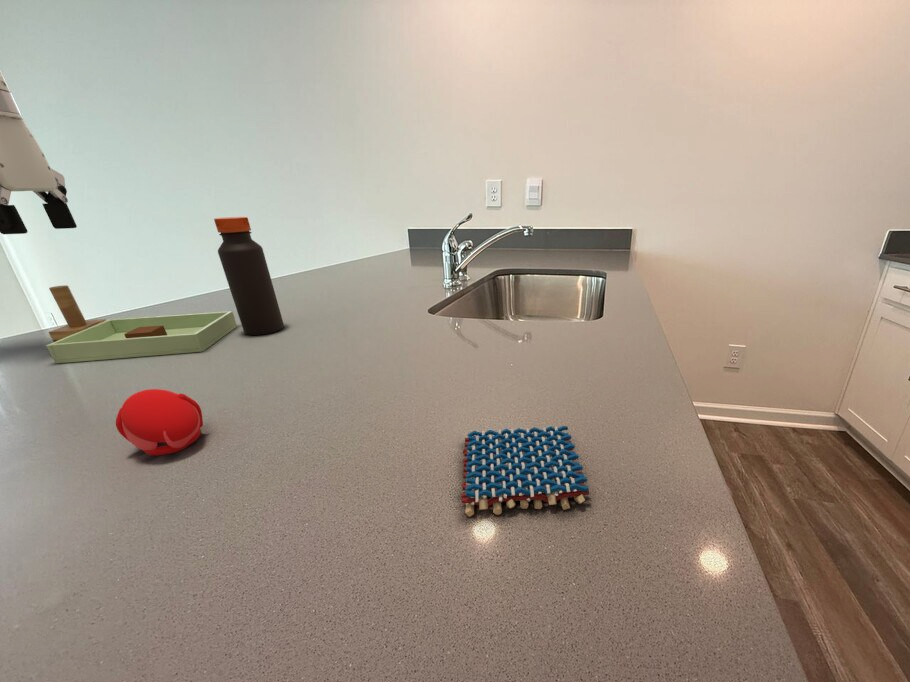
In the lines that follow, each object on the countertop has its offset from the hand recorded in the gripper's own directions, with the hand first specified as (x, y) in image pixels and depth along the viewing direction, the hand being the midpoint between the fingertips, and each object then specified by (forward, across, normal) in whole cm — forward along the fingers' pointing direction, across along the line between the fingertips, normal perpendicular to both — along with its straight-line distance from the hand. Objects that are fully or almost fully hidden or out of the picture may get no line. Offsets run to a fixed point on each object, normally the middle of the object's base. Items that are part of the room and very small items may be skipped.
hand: (42, 230), depth 66 cm
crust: (+18, +4, +11) cm, 22 cm away
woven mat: (+19, +54, +69) cm, 89 cm away
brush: (+19, -2, -3) cm, 19 cm away
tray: (+19, +4, +12) cm, 23 cm away
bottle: (+19, +1, +29) cm, 35 cm away
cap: (+19, +41, +34) cm, 57 cm away
